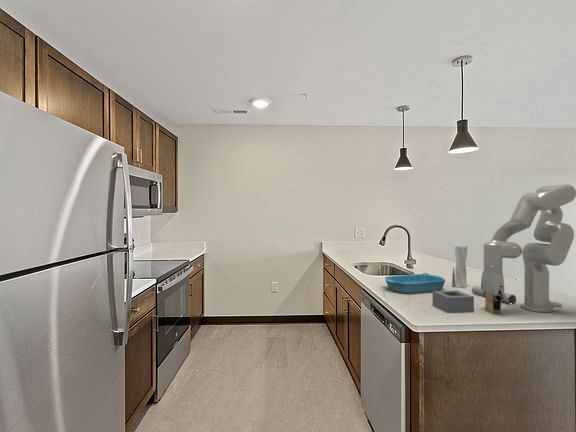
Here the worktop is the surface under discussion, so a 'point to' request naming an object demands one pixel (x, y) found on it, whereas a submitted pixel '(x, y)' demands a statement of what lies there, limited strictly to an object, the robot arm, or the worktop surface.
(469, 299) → the socket
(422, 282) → the casserole dish
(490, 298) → the peg
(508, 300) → the tube
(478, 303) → the worktop surface
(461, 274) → the skyscraper
